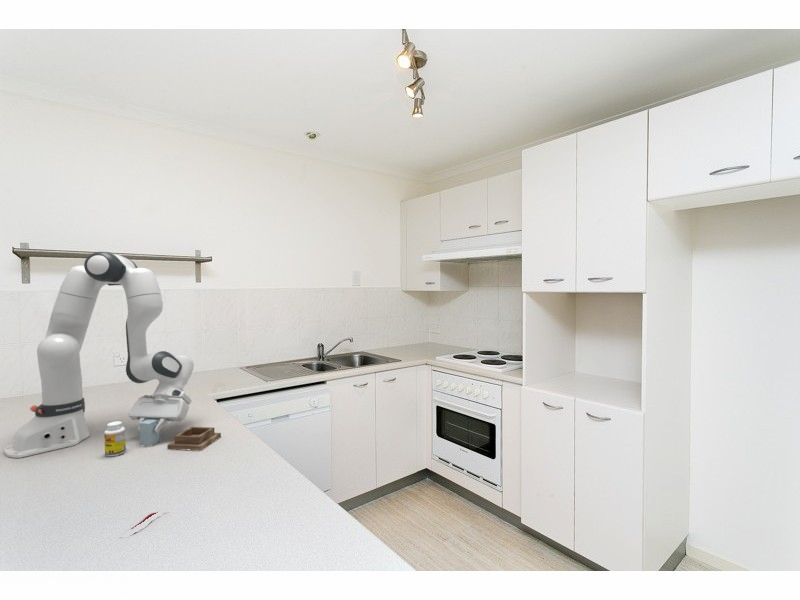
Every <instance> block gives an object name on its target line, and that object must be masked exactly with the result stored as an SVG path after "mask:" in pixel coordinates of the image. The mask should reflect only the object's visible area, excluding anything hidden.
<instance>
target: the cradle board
mask: <svg viewBox="0 0 800 600" xmlns="http://www.w3.org/2000/svg"><path fill="white" fill-rule="evenodd" d="M219 437H220V438H221V437H222V435H221V432H215V427H210V426H209V427H207V426H206V427H203V426H190V427H188V428H187V429H184V430H182V431H181V432H180V433H178V434H175V436H173V439H174V440H173V441H171V442H170V443H168V445H167V446H166V449H190V450H201V451H203V450H204V449H206V448H207V447H209V446H210V445H211V444H213V443H214V442H216V441H217V440H219V439H220V438H219ZM218 438H219V439H218ZM216 439H217V440H216ZM215 440H216V441H215ZM212 442H213V443H212ZM209 444H210V445H209ZM208 445H209V446H208ZM206 446H207V447H206ZM205 447H206V448H205ZM203 448H204V449H203ZM202 449H203V450H202Z"/></svg>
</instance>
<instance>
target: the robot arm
mask: <svg viewBox="0 0 800 600" xmlns="http://www.w3.org/2000/svg"><path fill="white" fill-rule="evenodd" d="M106 285H108V286H110V287H111V286H122V288H123V290H124V293H125V299H126V305H127V315H126V317H127V318H126V322H125V335H126V348H127V350H126V351H127V361H126V365H125V373H126V376H127V378H129V380H130V381H131V382H133V383H136V384H144V383H148V382H150V381H152V380H158V384H157V386H156V388H155V390H154V392H153V394H152V395H147V394H144V395H142V396H141V397H138V399H137V401H136V402H134V404H133V405H132V406H131V408H130V409H129V411H128V412H127V416H128V417H129V419H131V420H133V421H139V423H141V422H143V421H145V420H147V419H155V420H158V425H157V426H154V427H153V429H152V431H153V432H157V433H158V432H159V433H160V431H161V429H162V428H163V427H164V426H166V425H167V423H168V422H175V423H177V422H178V423H179V422H180V423H181V422H182V421H184V420H185V419H186V416H187V414H188V411H189V408H190V406H189V405H190V404H191V403H192V399H191V398H190V397H189V395H188V394H187V393H186V392H184V388H185V386H186V385H187V384H188V382H189V380H190V379H191V376H192V374H193V371H194V365H195V364H194V362H193V360H192V359H191V358H190V357H189V356H187V355H185V354H172V353H171V352H170V351H165V350H163V351H162V350H161V351H157V352H156V351H155V352H152V353H150V354H149V353H148V348H147V330H148V328H149V326H150V325H152V323H153V322H154V321H156V319H158V318H159V316H160V315H161V313H162V312H163V307H164V306H163V305H164V304H163V298H162V297H163V296H162V293H161V290H160V289H161V287H160V286H159V282H158V280H157V278H156V275H155V273H154V272H153V271H152V270H151V269H149V268H145V267H138V265H137V264H136V263H135V262H134V261H133V260H132V259H129V258H127V257H124V256H122V255H120V254H116V253H112V252H108V251H96V252H92V253H90V254H89V255H88V256H87V257H86V258H85V260H84V263H83V265H76V266H73V267H71V268H70V269H69V270H68V273H66V275H65V277H64V279H63V281H62V282H61V285H60V287H59V290H58V293H57V296H56V299H55V302H54V305H53V307H52V311H51V314H50V318H49V321H48V326H47V330H46V333H45V336H44V338H43V339H42V340H41V341H40V342H39V344H38V345H37V348H36V354H37V355H36V356H37V357H36V358H37V363H38V365H37V366H38V370H39V371H38V372H39V377H40V383H41V401H42V402H41V404H39V405H35V404H34V405H31V406H30V407H29V409H30V411H31V412H32V413H34V417H32V418H31V419H30V420H29V421H27V422H26V423H25V424H24V425H22V426H20V427H19V428H18V429H17V430H16V431H15V433H14V436H13V440H12V441H13V442H12V444H10V445H7V446H6V447H5V448H4V450H3V454H4V455H5V456H6V457H8V458H13V459H14V458H15V459H19V458H20V459H21V458H25V457H29V456H34V455H38V454H43V453H45V452H50V451H51V452H52V451H55V450H58V449H59V450H60V449H63V448H68V447H72V446H73V447H74V446H76V445H78V444H79V443H80V442H81V441H83V440H86V439H87V438H88V437H90V434H91V433H90V431H89V429H88V426H87V422H86V418H85V412H86V411H85V409H86V403H85V397H83V395H84V394H83V375H82V369H81V359H80V357H81V356H80V354H81V353H80V352H81V349H82V347H83V344H84V341H85V339H86V334H87V331H88V328H89V324H90V321H91V318H92V315H93V313H94V309H95V306H96V304H97V303H96V302H97V300H98V297H99V294H100V292H101V289H102V288H103V287H104V286H106ZM137 431H138V432H139V433H140V429H139V427H138V428H137Z"/></svg>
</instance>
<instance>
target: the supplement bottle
mask: <svg viewBox="0 0 800 600" xmlns="http://www.w3.org/2000/svg"><path fill="white" fill-rule="evenodd" d="M103 434H104V435H103V436H104V455H105V456H106V457H110V456H111V457H116V455H117V456H120V455H123V454H124V453H125V452H126V449H127V448H126V445H127V444H126V442H127V441H126V428H125V427H124V426H123V422H122V421H119V420H118V421H111V422H109V423H107V424H106V430H105V431H104V433H103ZM119 454H120V455H119Z"/></svg>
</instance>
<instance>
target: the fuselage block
mask: <svg viewBox="0 0 800 600" xmlns="http://www.w3.org/2000/svg"><path fill="white" fill-rule="evenodd" d="M158 424H159V421H158V420H155V419H147V420H145V421H143V422H141V423H140V422H139V426H138V428H139V429H140V432H139V446H140V445H145V446H144V447H152V446H154V445H156V444H157V443H156V442H158V441H159V442H160V431H159V432H158V433H157V432H153V431H152V429H153V427H154V426H157V425H158ZM159 442H158V443H159ZM155 443H156V444H155ZM153 444H154V445H153ZM151 445H152V446H151Z"/></svg>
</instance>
